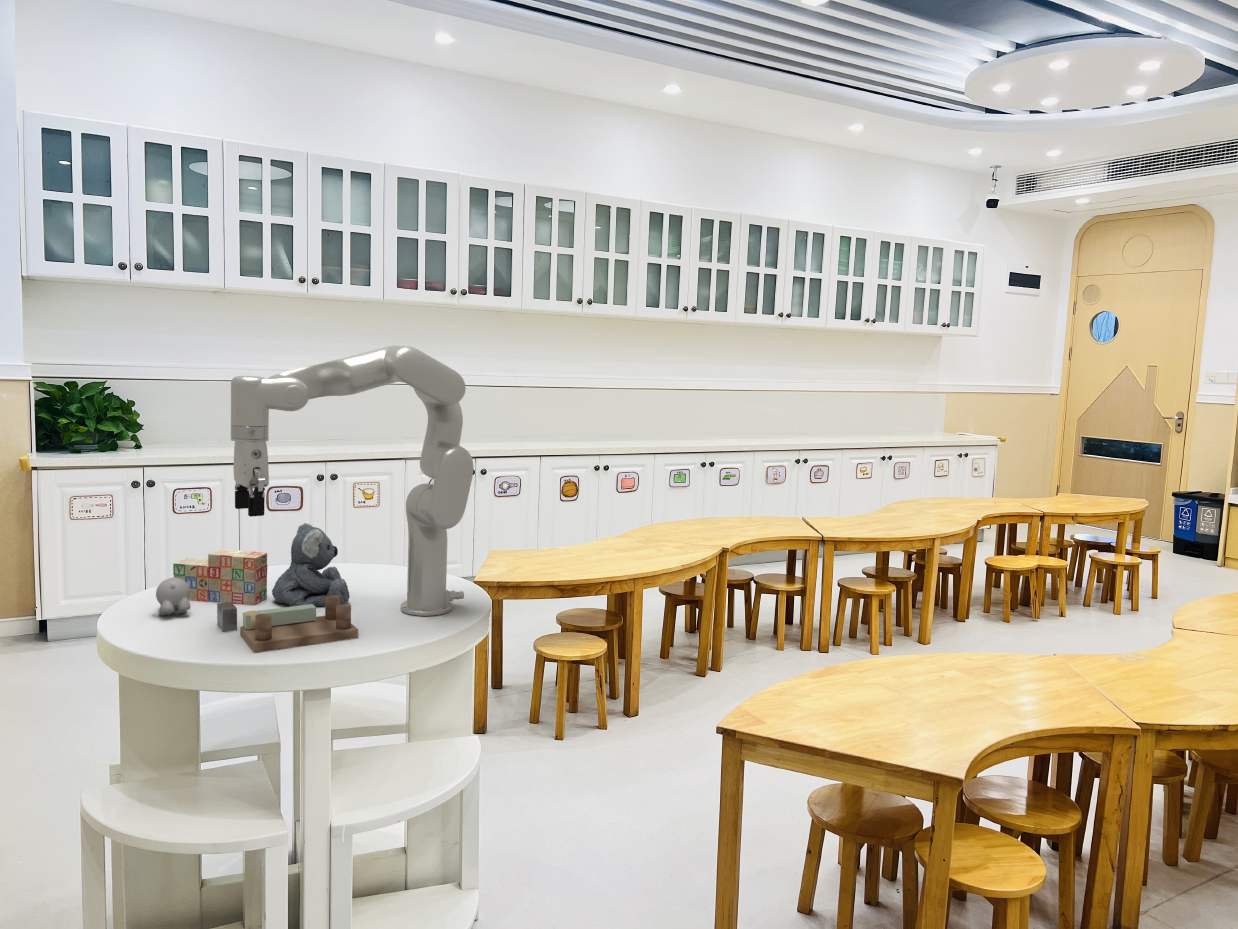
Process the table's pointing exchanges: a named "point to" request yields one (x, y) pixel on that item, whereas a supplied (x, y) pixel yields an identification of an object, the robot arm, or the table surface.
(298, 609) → the folding leg
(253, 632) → the stool seat
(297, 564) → the koala plush
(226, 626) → the block
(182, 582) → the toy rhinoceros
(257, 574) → the stack of blocks
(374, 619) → the table surface
